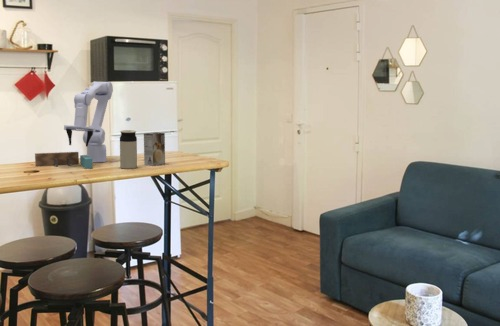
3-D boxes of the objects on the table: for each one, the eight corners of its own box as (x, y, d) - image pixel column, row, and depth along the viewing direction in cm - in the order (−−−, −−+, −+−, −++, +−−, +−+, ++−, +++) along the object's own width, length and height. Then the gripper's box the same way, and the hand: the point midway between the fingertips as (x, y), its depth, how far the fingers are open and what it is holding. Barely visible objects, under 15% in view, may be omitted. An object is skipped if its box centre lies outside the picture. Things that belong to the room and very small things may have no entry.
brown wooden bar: (77, 163, 261) (77, 151, 260) (80, 165, 255) (79, 153, 255) (35, 165, 252) (34, 153, 251) (36, 167, 246) (36, 155, 245)
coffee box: (156, 162, 269) (155, 132, 267) (165, 164, 266) (165, 132, 263) (143, 164, 261) (143, 133, 259) (153, 166, 258) (152, 134, 256)
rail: (87, 164, 259) (86, 154, 258) (92, 169, 246) (92, 158, 246) (80, 165, 258) (80, 155, 257) (85, 169, 245) (85, 159, 244)
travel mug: (120, 169, 246) (119, 131, 244) (120, 166, 254) (119, 130, 251) (137, 168, 248) (137, 131, 246) (136, 166, 256) (136, 130, 253)
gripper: (64, 115, 245) (61, 143, 244) (96, 118, 249) (93, 145, 247) (65, 117, 252) (63, 145, 250) (96, 120, 255) (94, 147, 254)
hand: (78, 145), depth 249 cm, fingers open, 7 cm apart
